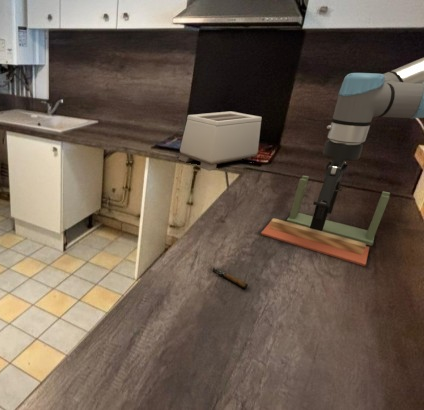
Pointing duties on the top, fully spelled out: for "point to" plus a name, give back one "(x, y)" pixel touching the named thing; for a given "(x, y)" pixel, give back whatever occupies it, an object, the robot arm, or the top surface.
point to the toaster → (220, 138)
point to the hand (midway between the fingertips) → (320, 220)
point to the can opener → (231, 278)
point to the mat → (317, 246)
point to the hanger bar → (318, 236)
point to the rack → (334, 227)
